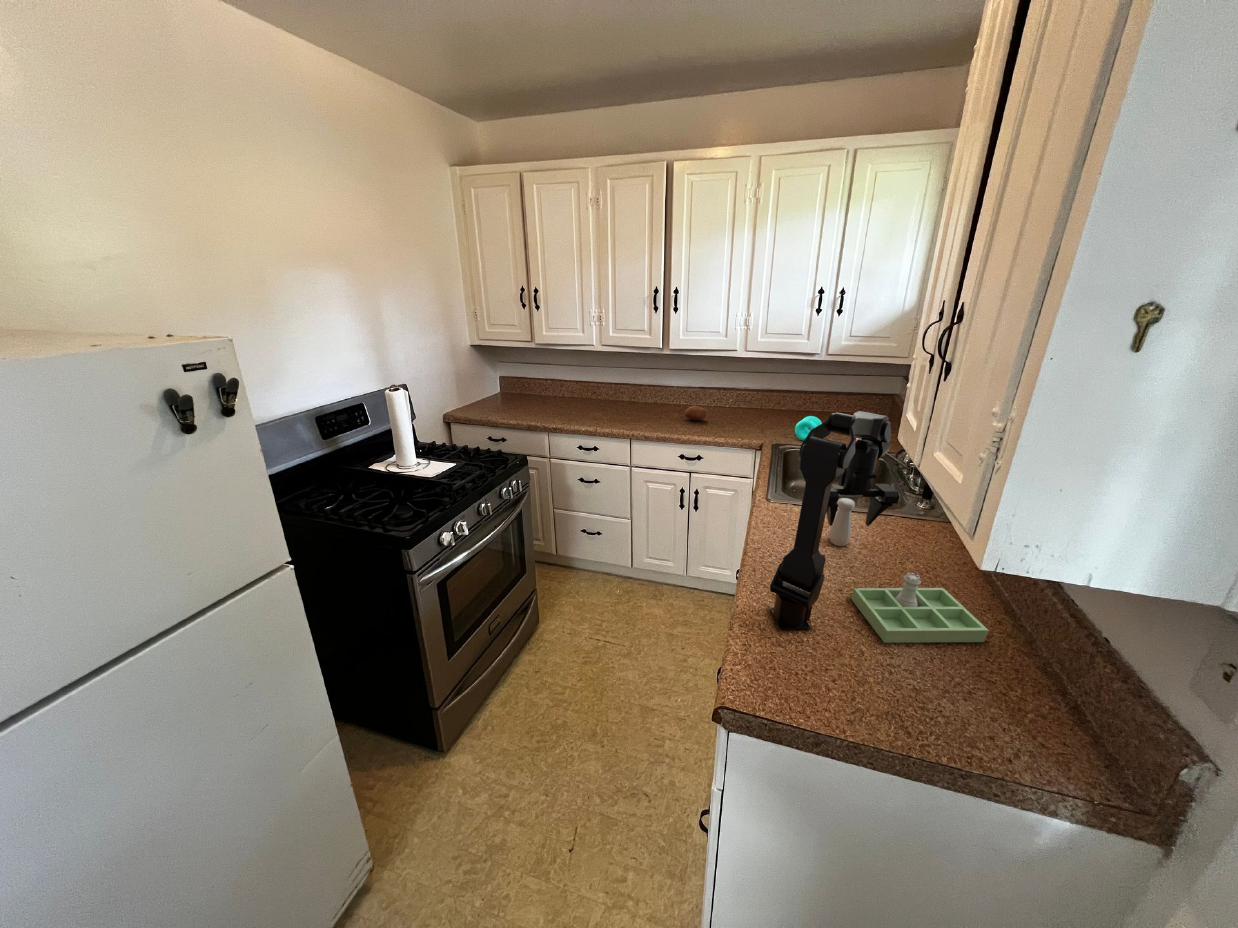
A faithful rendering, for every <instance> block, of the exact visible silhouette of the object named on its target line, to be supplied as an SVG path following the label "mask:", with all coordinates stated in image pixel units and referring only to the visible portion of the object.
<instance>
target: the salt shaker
mask: <svg viewBox="0 0 1238 928" xmlns="http://www.w3.org/2000/svg"><path fill="white" fill-rule="evenodd" d="M836 503H837V504H838V508H837V512H836V515H835V519H834V522H833V524H832V526H829V530H828V532H827V535H828V537H829V541H830V544H832V545H834V546H837V547H845V546H846V545H847V544H848V543H849V542H850V540H851V538H852V511H854V509H855V506H856V503H855V501H854V500H853V499H851V498H849V497H840V498H839V499H838V501H837V502H836Z"/></svg>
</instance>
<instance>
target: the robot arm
mask: <svg viewBox="0 0 1238 928" xmlns="http://www.w3.org/2000/svg"><path fill="white" fill-rule="evenodd" d="M831 433H833V434H838V435H843V436H847V437H849V443H848V445H847V444H846V443H844V442H839V441H835V440H831V439H827V438H826V437H828V436H830V435H831ZM855 437H857V438H861V439H857V440H856V438H855ZM891 441H892V422H891V421H890V418H889V416H888V415H884V414H877V413H873V412H867V411H863V410H862V411H861V410H857V411H856V412H854V413H853V415H851V414H847V413H841V412H832V413H830V415H829V416H828V418H827V419H826V421H824V422H822V424H821V425H819V426H817V427H815V428H813V429H812V430H811V431H810V432H809V434H808V435H807V437H806V439H805V440H804V441H803V442H801V445H800V448H799V453H798V454H799V471H800V473H801V476H802V478H803V481H804V483H805V484H804V490H803V496H802V501H801V505H800V506H801V507H800V511H799V517H798V522H797V527H796V533H795V539H794V542H793V543H794V544H793V548H792V549H791V550H790V551H789V552H787V554H786V555H784V556H783V558H782V561H781V562H780V563H779V564H778V565H777V569H776V570H775V573H774V575H773V577H772V580H771V583H770V584H769V592H770V593H772V594H775V599H774V606H773V607H770V613H771V615H772V617H773V619H774V621H775V623H776V625H777V627H778V629H779V630H785V631H787V630H790V631H791V630H792V631H793V630H797V631H798V630H799V631H800V630H811V625H810V623H809V622H810V620H811V615H812V610H813V605H814V604H816V602H817V601H818V599H819V597H820V594H821V591H822V589H823V588H822V587H823V584H824V581H825V574H824V569H825V564H826V561H827V559H826V555H824V554H822V553H820V550H819V549H820V545H821V539H822V534H823V529H824V524H825V519H826V518H827V524H828V525H829V527H831V526H832V524H833V522H834V519H835V516H836V513H837V511H838V509H839V508H838V504H837V502H838V500H839V499H840V498H869V499H868V500H869V504H868V510H867V513H866V516H865V525H866V526H867V527H869V526H870V525H872V524H873V523H874V522H875V520H877V518H878V517H880V516H881V514H882V513H884V512H885V511H886V510H887V509H888V508H891V507H893V506H894V504H895V505H897V504H900V499H901V494H900V492H899V490H897V489H896V488H895V487H893V486H892V485H890V484H889V483H874V484H872V482H873V479H877V477H878V474H877V473H875V469H876V464H877V461H878V460H880V459H881V458H883V456H884V455H886V454H887V453H888V452H889V451H890V450H891V447H892V444H891ZM834 483H838V486H839V487H842V488H835V487H834V486H833V484H834Z"/></svg>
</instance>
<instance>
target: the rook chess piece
mask: <svg viewBox="0 0 1238 928" xmlns="http://www.w3.org/2000/svg"><path fill="white" fill-rule="evenodd" d="M903 580H904V582H903V587H902V588H903V589H902V591H901V593H899V595H897V596H896V597H895V599H896V600H897V601H898V602H899V603H900V605H901V606H902V607H917V606H918V605H917V601H916V590H917V589H918V588H919V585H921V583H922V580H921V577H920V575H918V574H915V573H914V572H907V573H906V575H904V576H903Z"/></svg>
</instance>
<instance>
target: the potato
mask: <svg viewBox="0 0 1238 928" xmlns="http://www.w3.org/2000/svg"><path fill="white" fill-rule="evenodd" d="M684 416H685V418H686V419H688V420H692V421H694V422H700V421H703V420H704V419H705V418H706V417H707V410H706V409H705V408H704V407H701V406H698V405H692V406H690V407H688V408H687V409H686V410H685V412H684Z"/></svg>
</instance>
